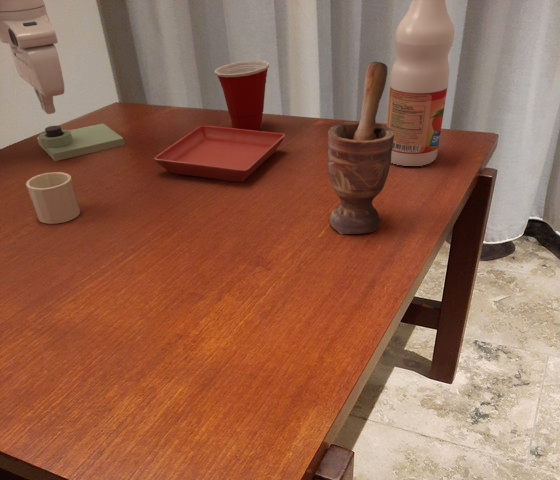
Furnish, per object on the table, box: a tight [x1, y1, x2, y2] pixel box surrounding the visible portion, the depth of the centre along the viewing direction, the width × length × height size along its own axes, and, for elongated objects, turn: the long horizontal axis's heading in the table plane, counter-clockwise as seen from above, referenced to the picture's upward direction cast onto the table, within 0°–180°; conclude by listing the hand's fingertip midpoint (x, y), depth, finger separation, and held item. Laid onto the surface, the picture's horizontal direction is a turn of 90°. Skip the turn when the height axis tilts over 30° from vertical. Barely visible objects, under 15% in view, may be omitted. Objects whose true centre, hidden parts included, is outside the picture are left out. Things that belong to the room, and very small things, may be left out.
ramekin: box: [25, 171, 81, 225], centre depth 85 cm, size 6×6×6 cm
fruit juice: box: [385, 0, 455, 167], centre depth 90 cm, size 9×9×28 cm
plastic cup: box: [214, 59, 270, 131], centre depth 111 cm, size 11×11×12 cm
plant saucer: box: [153, 125, 286, 183], centre depth 100 cm, size 18×18×3 cm
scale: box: [36, 122, 126, 162], centre depth 110 cm, size 14×12×3 cm
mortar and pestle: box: [327, 61, 394, 235], centre depth 76 cm, size 12×9×20 cm
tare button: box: [44, 125, 63, 137], centre depth 107 cm, size 3×3×2 cm
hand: (49, 111), depth 105 cm, fingers closed
